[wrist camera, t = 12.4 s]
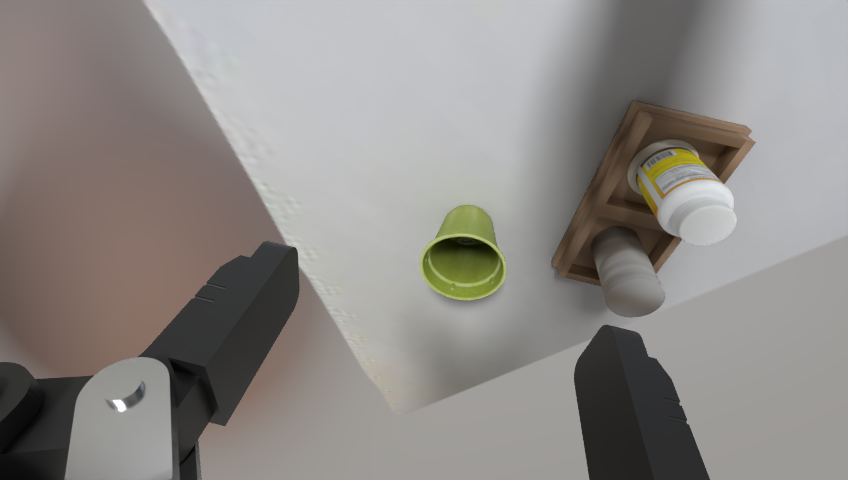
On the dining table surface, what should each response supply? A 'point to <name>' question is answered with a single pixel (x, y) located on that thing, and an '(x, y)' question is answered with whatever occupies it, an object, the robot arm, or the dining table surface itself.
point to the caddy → (639, 205)
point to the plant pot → (464, 256)
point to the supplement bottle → (686, 196)
